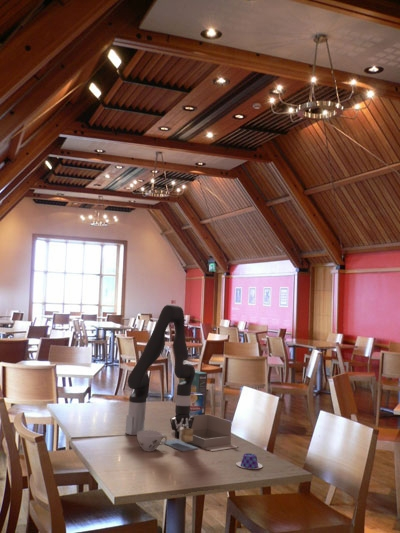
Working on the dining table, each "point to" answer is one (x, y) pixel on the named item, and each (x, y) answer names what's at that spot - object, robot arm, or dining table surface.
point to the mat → (180, 445)
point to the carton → (211, 433)
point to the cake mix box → (199, 386)
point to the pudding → (249, 462)
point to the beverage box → (196, 404)
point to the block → (183, 434)
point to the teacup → (150, 439)
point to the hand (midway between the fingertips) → (181, 438)
